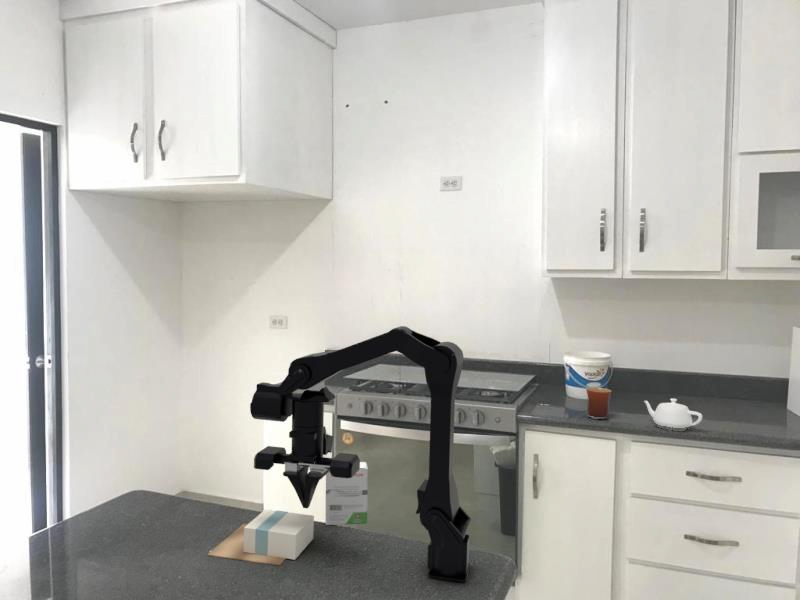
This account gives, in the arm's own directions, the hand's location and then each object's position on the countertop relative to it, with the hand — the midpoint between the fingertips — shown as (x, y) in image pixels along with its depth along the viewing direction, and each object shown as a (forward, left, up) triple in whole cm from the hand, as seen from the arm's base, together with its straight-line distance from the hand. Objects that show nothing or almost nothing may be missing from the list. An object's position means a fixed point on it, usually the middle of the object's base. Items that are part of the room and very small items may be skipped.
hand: (306, 507), depth 116 cm
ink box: (-3, -15, -8) cm, 17 cm away
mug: (-61, -129, -8) cm, 143 cm away
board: (+9, 0, -8) cm, 12 cm away
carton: (0, 0, -6) cm, 6 cm away
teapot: (-85, -121, -8) cm, 148 cm away
